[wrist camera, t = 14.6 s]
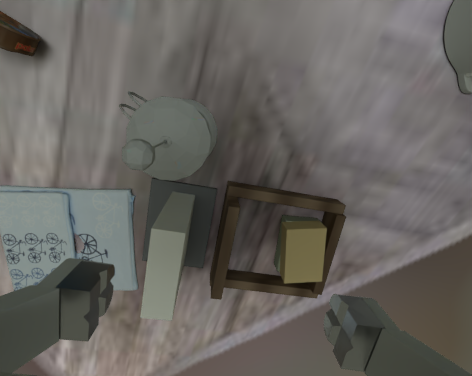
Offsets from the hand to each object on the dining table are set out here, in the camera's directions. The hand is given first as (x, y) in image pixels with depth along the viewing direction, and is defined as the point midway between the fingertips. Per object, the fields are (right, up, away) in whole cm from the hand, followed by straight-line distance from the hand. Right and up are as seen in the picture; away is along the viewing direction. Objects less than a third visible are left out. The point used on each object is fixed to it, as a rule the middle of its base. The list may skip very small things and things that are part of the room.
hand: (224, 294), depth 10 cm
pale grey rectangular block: (-9, -2, +32) cm, 33 cm away
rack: (+7, -5, +35) cm, 35 cm away
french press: (-8, +13, +29) cm, 33 cm away
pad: (-9, -2, +33) cm, 34 cm away
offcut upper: (+11, -6, +33) cm, 35 cm away
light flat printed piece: (-26, -5, +33) cm, 42 cm away
